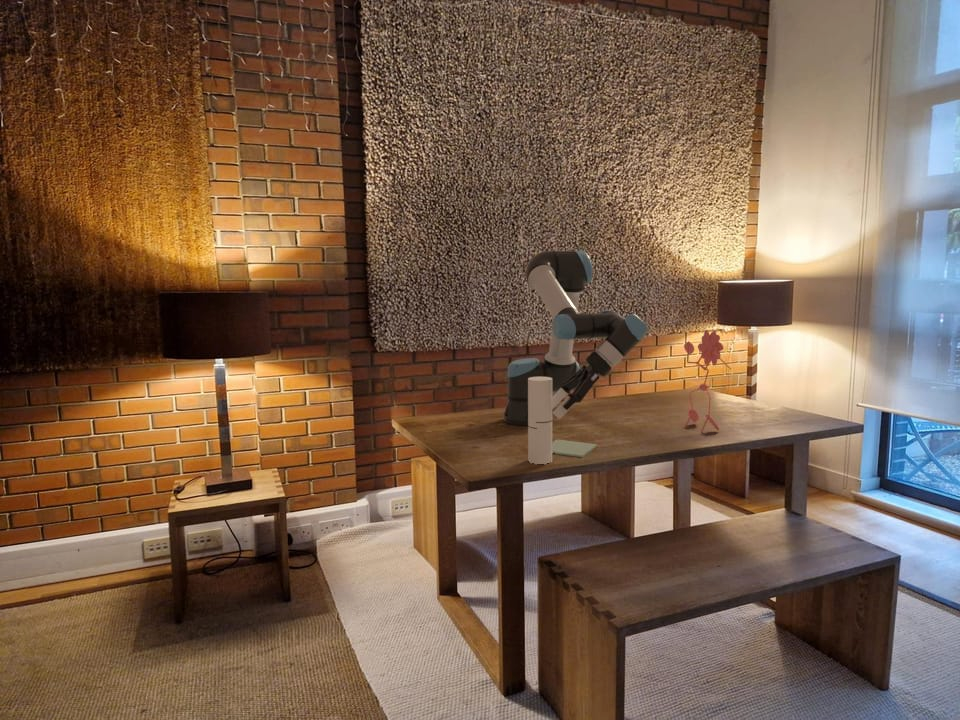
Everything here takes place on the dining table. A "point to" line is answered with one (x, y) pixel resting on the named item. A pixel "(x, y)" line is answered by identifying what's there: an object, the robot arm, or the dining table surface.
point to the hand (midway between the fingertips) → (552, 410)
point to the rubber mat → (572, 448)
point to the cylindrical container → (540, 420)
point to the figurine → (709, 353)
